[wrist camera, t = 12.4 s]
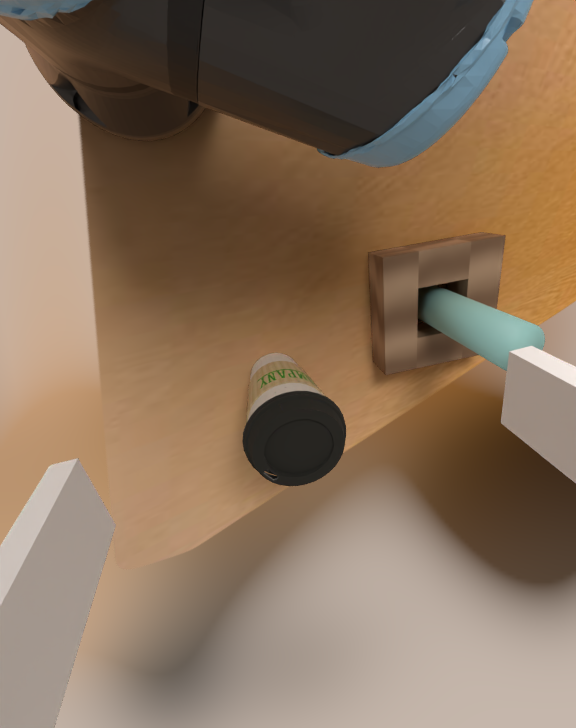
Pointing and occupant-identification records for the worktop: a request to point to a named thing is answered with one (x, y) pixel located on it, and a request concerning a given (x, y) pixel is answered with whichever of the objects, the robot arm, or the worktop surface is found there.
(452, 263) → the socket block
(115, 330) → the worktop surface
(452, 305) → the peg
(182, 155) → the worktop surface
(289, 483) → the coffee cup
